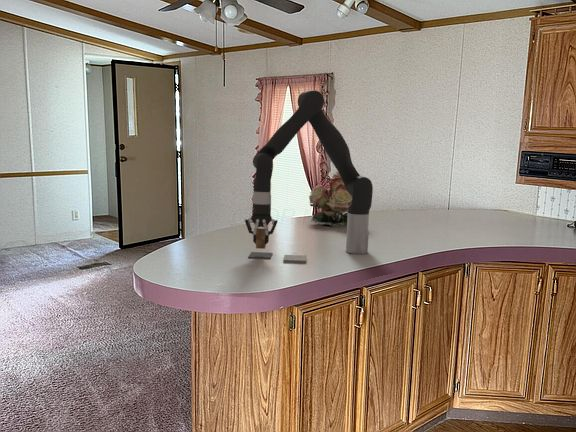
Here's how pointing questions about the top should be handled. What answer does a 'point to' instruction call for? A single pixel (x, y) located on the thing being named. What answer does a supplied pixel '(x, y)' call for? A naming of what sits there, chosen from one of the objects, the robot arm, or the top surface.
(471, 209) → the top surface
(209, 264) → the top surface
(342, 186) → the rose bouquet
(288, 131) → the robot arm
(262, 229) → the block
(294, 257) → the tile
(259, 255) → the mat
